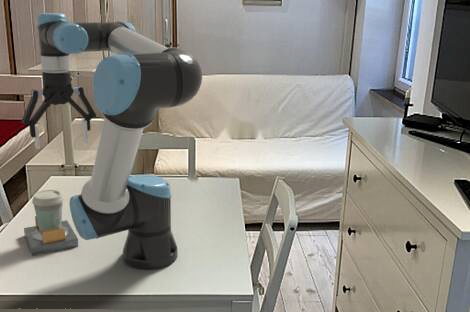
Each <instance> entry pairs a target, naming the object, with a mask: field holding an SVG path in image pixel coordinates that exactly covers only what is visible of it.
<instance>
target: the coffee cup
mask: <svg viewBox="0 0 470 312" xmlns="http://www.w3.org/2000/svg"><path fill="white" fill-rule="evenodd" d="M31 203H32V204H33V207H34V212H35V216H36V217H37V221H38V226H39V230H40V234H41V235H42V231H46V230H51V229H57V228H61V225H62V221H63V203H64V196H63V195H62V192H61V191H60V190H57V189H46V190H39V191H37V192H36V193H34V195H33V197H32V202H31Z"/></svg>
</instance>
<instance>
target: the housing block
mask: <svg viewBox="0 0 470 312" xmlns="http://www.w3.org/2000/svg"><path fill="white" fill-rule="evenodd" d="M34 221H35V225H34V226H29V227H23V232H24V238H25V241H26V242H27V246H28V247H29V250H30V253H31V255H32V256H38V255H42V254H48V253H53V252H58V251H62V250H66V249H71V248H76V247H77V248H78V247H79V237H78V236H77V234H76V233H75V231H74V229H73V228H72V226H71V224H70V223H69V221H68V220H62V225H61V228H57V229H51V230H46V231H42V235H41V234H40V230H39V226H38V221H37V217H36V215H35V216H34Z"/></svg>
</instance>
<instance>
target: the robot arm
mask: <svg viewBox="0 0 470 312" xmlns="http://www.w3.org/2000/svg"><path fill="white" fill-rule="evenodd" d="M36 27H37V31H38V43H39V50H40V64H41V70H42V74H41V77H42V89H41V90H39V89H36V88H35V89H31V91H30V93H31V96H30V99H29V102H28V104H27V107H26V110H25V112H24V114H23V116H22V117H21V123H22V124H24V125H26V126H28V127H29V135H30V137H31V138H34V139H33V140H34V147H35V148H36V150H40V149H41V142H40V132H39V126H38V125H37V123H38V122H39V120H40V119H41V118H42V117H43V115H44V114H45V113H46V111H47V110H48V108H49V107H51V106H52V105H53V106H58V105H66V104H67V103H68V104H69V105H70V106H71V107H72V108H74V110H75V111H76V112H78V114H79V115H80V116H81V117H82V118H83V119H81V121H80V122H81V136H82V142H84V143H86V144H87V143H89V137H88V136H89V135H88V132H90V131H91V120H92V119H93V118H96V117H97V114H96V112H95V111H94V109H93V107H92V105H91V104H90V101H88V99H87V97H86V95H85V92H84V91H85V90H84V88H83V87H82V86H80V85H77V86H76V87H73V85H72V74H71V71H69V70H70V69H71V61H70V55H75V54H80V53H85V52H86V53H87V52H88V53H90V52H111V53H113V55H107V56H105V57H104V58H102V59H101V60H100V61H99V63H98V64H97V66H96V68H95V70H94V74H93V80H92V87H93V90H92V95H93V96H92V97H93V100H94V103H95V106H96V108H97V110H99V112H101V113H100V114H101V115H102V116H103V118H104V120H103V124H102V128H101V133H100V136H99V137H100V138H99V142H98V147H97V151H96V154H95V159H94V164H93V167H92V168H93V169H92V172H91V177H90V179H89V180H87V181H86V182H85V183H84V184H83V187H82V189H81V193H80V194H75V195H73V196H71V197H70V199H69V210H70V211H69V212H70V215H71V219H72V222H73V225H74V228H75V230H76V232H77V234H78V235H79V236H80V238H82V239H83V240H85V241H91V240H95V239H97V240H98V239H100V238H104V237H107V236H110V235H114V234H115V235H116V234H118V233H121V232H124V231H128V233H127V235H126V239H125V242H124V246H123V249H122V260H123V261H124V263H125V264H126V265H128V266H130V267H132V268H135V269H139V270H155V269H156V270H157V269H161V268H165V267H167V266H169V265H171V264H173V263H174V262H175V261H176V260H177V259H178V255H179V254H178V245H177V242H176V240H175V238H174V234H173V232H172V216H171V215H172V211H171V207H172V205H171V204H172V200H171V199H172V194H171V193H172V192H171V191H172V190H171V185H170V183H169V181H168V180H167V179H165V178H163V177H160V176H158V175H157V176H156V175H151V174H133V175H131V174H132V173H131V172H132V170H133V166H134V163H135V160H136V156H137V152H138V148H139V145H140V142H141V139H142V135H143V132H144V129H145V128H147V127H149V126H150V125H152V123H153V122H154V120H155V118H156V117H155V116H156V114H157V111H158V110H160V109H161V110H162V109H166V108H167V109H168V108H173V107H174V108H176V107H179V106H182V105H185V104H187V103H189V102H190V101H191V100H192V99H194V98H195V96H196V95H197V94H198V93H199V91H200V88H201V85H202V82H203V72H202V67H201V65H200V63H199V62H198V60H197V58H195V57H194V55H192V54H191V53H189V52H187V51H186V50H183V49H181V48H179V47H173V46H171V47H167V46H164V45H163V44H160V43H159V42H157V41H154V40H153V39H150V38H148V37H146V36H144V35H142V34H139V33H137V31H136V28H135V27H134V25H133V24H132V23H130V22H125V21H115V22H114V21H112V22H111V21H108V22H106V21H105V22H68V19H67V15H66V14H65V13H59V12H58V13H55V12H53V13H52V12H42V13H39V14H38V15H37V26H36ZM73 94H76V96H78V97H79V99H80V100H81V103H82V104H83V106H84V108H85V110H86V111H87V113H86V111H84V110H83V108H81V106H79V105H78V103H76V101H74V100H73V99H72V96H73ZM41 96H43V97H44V100H43V101H42V103H41V104H40V106H39V107H38V109H37V110H36V111H35V112H34V110H35V108H36V105H37V103H38V100H39V99H40V98H41ZM33 112H34V114H33Z"/></svg>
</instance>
